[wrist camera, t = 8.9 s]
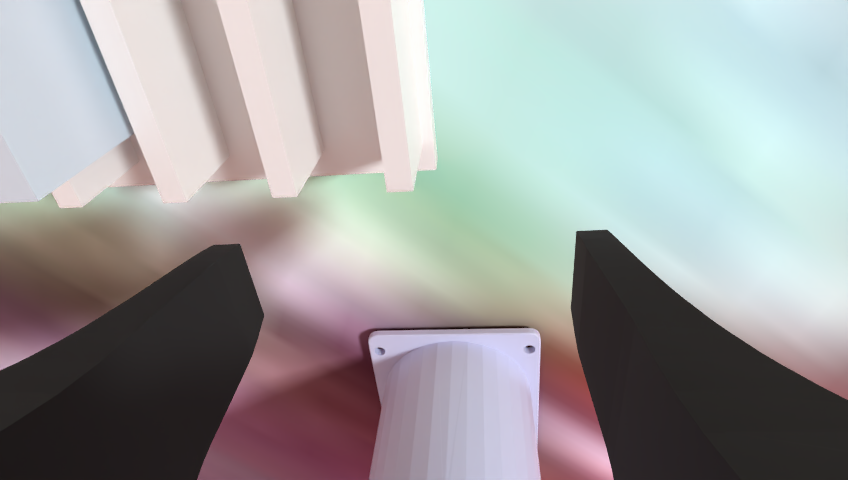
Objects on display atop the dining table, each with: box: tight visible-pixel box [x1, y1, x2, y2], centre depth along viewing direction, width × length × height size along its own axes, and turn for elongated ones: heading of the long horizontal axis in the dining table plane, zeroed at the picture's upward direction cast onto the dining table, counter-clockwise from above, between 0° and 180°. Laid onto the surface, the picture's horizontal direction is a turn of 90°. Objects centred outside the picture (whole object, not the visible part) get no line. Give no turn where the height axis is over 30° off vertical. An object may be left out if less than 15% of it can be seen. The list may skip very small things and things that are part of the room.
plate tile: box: [0, 0, 134, 203], centre depth 14 cm, size 7×2×7 cm, turn 5°
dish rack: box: [52, 0, 438, 208], centre depth 16 cm, size 13×16×4 cm
